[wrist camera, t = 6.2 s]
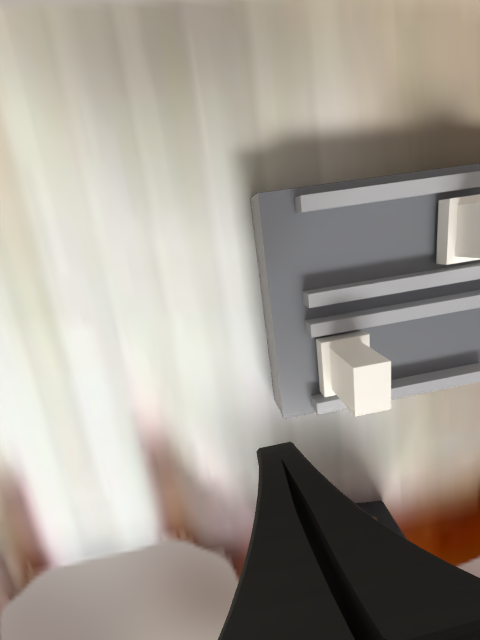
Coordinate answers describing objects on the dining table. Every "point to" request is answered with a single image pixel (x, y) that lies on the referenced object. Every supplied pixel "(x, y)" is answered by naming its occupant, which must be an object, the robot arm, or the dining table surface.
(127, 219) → the dining table surface
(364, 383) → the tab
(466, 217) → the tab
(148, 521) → the dining table surface
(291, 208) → the switch bank
